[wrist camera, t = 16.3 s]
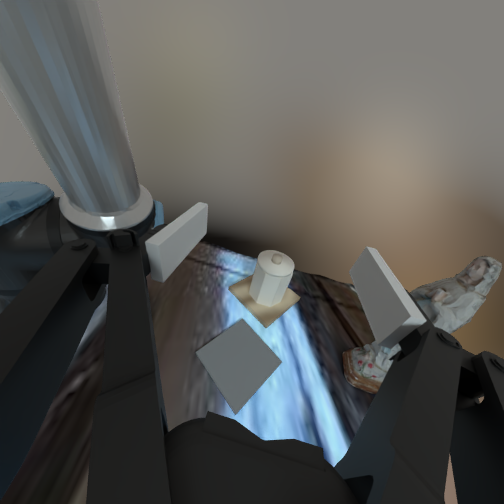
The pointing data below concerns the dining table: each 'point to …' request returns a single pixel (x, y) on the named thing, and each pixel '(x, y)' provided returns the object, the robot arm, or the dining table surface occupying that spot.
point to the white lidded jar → (271, 277)
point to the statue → (438, 311)
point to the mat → (238, 363)
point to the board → (261, 311)
